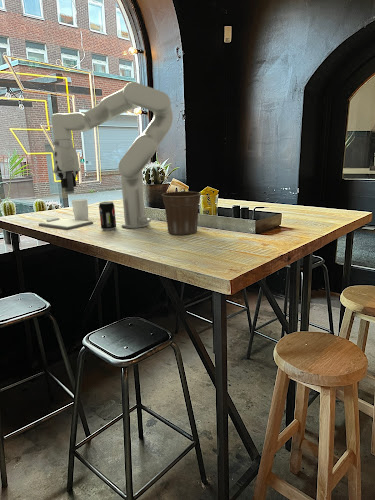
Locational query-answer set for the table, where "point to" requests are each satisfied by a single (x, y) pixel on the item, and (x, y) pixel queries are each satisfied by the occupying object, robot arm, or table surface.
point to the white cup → (80, 209)
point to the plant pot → (181, 211)
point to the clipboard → (65, 223)
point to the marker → (69, 182)
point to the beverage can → (107, 215)
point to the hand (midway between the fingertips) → (69, 186)
